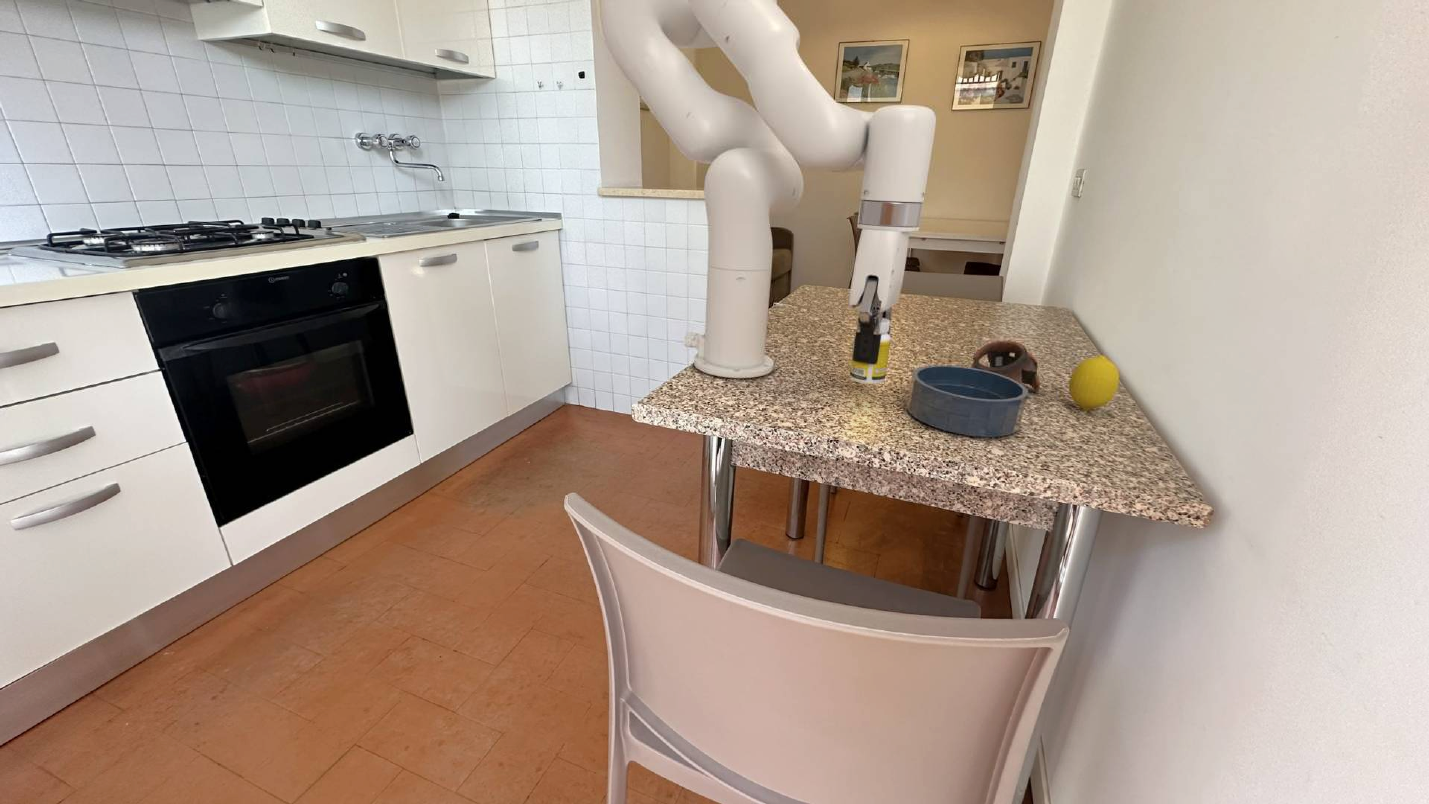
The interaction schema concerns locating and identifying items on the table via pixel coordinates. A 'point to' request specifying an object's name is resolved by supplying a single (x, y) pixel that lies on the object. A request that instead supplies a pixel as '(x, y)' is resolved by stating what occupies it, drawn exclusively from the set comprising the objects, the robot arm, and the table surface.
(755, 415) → the table surface
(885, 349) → the supplement bottle
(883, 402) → the table surface
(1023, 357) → the pottery mug
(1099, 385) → the lemon
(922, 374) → the bowl
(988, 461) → the table surface
